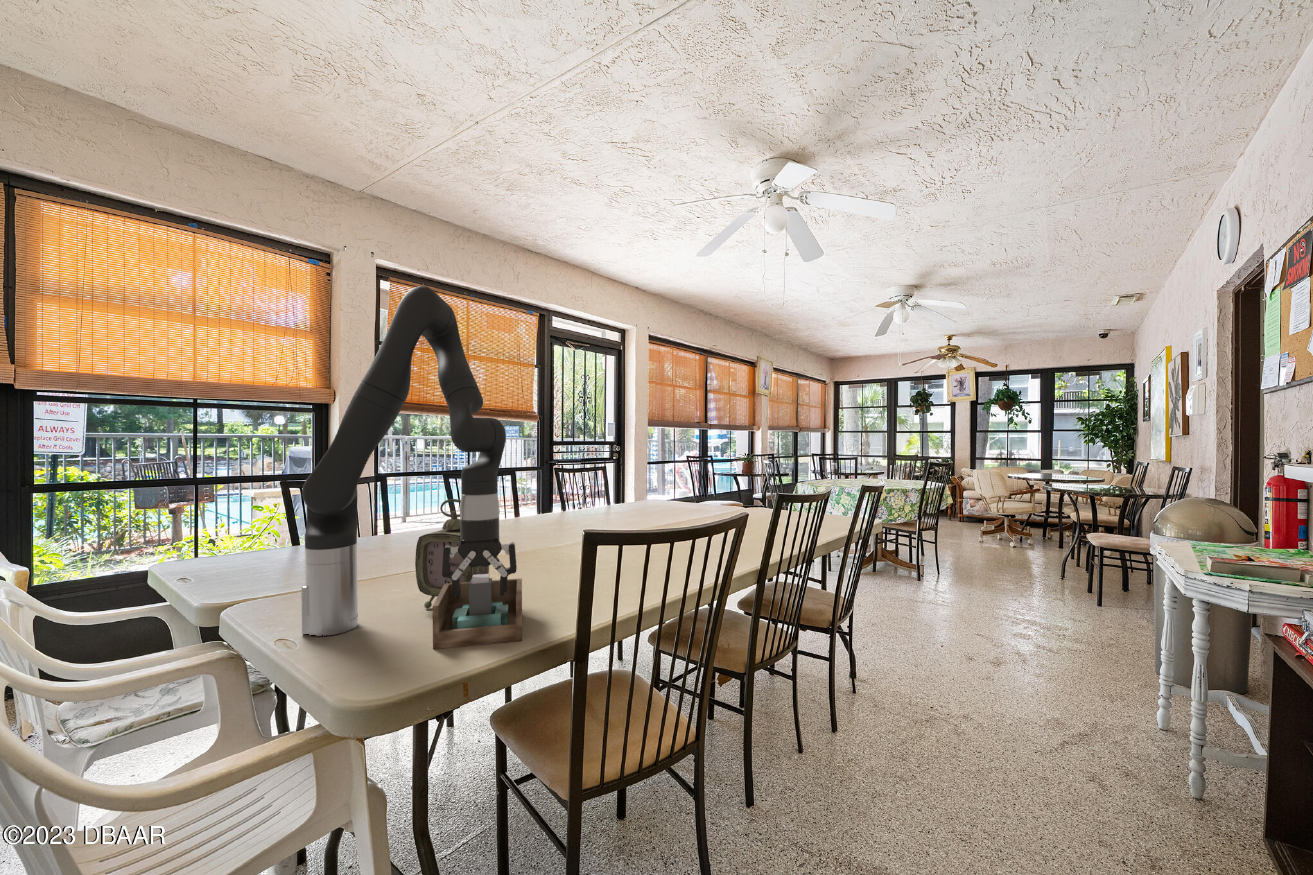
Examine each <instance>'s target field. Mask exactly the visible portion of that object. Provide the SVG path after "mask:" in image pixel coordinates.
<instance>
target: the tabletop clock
mask: <svg viewBox="0 0 1313 875" xmlns="http://www.w3.org/2000/svg"><path fill="white" fill-rule="evenodd" d="M448 503H459V504H460V503H461V499H457V498H449V499H446V500H444V501H443V502H442V503H440V504H441V505H440V506H439V509H440V512H441V513H442V515H443V516H445V517H448V519H447V520H445V522H444V523H443V524H442V529H440V530H437V531H434V532H433V531H432V532H429V533H426V534H423V535H421V536H419V537H418V539H417V543H416V547H415V561H414V562H415V563H414V566H415V567H414V568H415V576H416V577H415V578H416V584H417V587H418V589H419V592H420V593H421V594H424V595H427V596H430V598H429V600H427V601H425V603H424V608H425V609H430V608H431V607H433V604H432V602H433V600H434V599H435V597H436V598H437V597H438V595H439V593H440V591H441V590H442V588H443V586H444V584H447V583H452V580H451V579H450V578H447V577H446V578H445V577H443V576H442V566H443V550H444V548H445V547H446V546H447V545H450V546H451V547H459V545H460V513H459V514H458V513H457V511H455V510H453V511H451V513H448V512H445V511H444V510H443V508H444V506H445V504H448ZM449 518H450V519H449ZM463 560H464V559H463V558H462V557H461V556H460V555H459V553H458V552H456V553H455V555H454V557H452V558H451V565H450V570H452V571H455V570H456V569H457V568H458V567H459V565H460V564H461V562H462V561H463ZM478 574H489V575H490V565H489V566H488V567H483V566H478V567H471V566H469V565H468V566H467V567H466V568H465V570H464V571H463V572H462V573H461V575H460V576H459V578H460V583H461V582H470V580H471V579H472V577H473V575H478Z"/></svg>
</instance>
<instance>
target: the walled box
mask: <svg viewBox="0 0 1313 875" xmlns="http://www.w3.org/2000/svg"><path fill="white" fill-rule="evenodd" d="M507 580H508V588H507V592H504V595H502V596H500V579H492V609H493V614H487V615H475V616H469V583H470V582H461V583H460V590H461V595H460V598H457V599H456V596H453V594H452V583H447V584H444V586H443V588H442V590H441V591H440V593H439V595H438V597H436V599H435V601H434V603H433V604H432V649H433V650H439V649H448V648H449V649H450V648H459V647H468V646H469V647H471V646H472V647H473V646H479V645H480V646H481V644H483V645H491V644H501V643H504V644H505V643H512V642H521V641H522V642H523V578H522V577H521V578H510V579H509V578H507Z"/></svg>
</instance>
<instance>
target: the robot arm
mask: <svg viewBox="0 0 1313 875" xmlns="http://www.w3.org/2000/svg"><path fill="white" fill-rule="evenodd" d="M459 330H460V329H459V327H458V321H457V318H456V315H455V311H454V310H453V308H452V307H451V306H450V305H449V304H448V302H446V301H445V299H443V298H442V297H441V296H440V295H439V294H438V293H437V292H435V290H433V289H432V288H430V287H428V286H426V285H417V286H415V287H413V288H411V289H409V290H408V291H407V292H406V293H405V294H404V296H403V297H402V298H401V300H400V301H399V303H398V305H397V307H396V310H395V312H394V315H393V317H392V320H391V322H390V325H389V326H388V329H387V332H386V333H385V336H384V338H383V340H382V342H381V344H380V346H379V349H378V351H377V352H376V355H375V357H374V358H373V360H372V362H371V364H370V366H369V368H368V370H367V371H366V373H365V374H364V376H363V378H362V379H361V381H360V382H359V385H358V386H357V388H356V390H355V392H354V394H353V396H352V397H351V400H350V402H349V404H348V406H347V408H346V410H345V412H344V415H343V417H342V419H341V421H340V424H339V426H338V428H337V432H336V434H335V437H334V439H333V441H332V443H331V444H330V445H329V448H328V449H327V451H326V452H325V453H324V455H323V456H322V458H321V459H320V461H319V462H318V463H317V465H316V466H315V468H314V469H313V470H312V472H311V473H310V474H309V475H308V477H307V478H306V480H305V481H304V483H303V486H302V491H301V495H302V500H303V502H304V503H305V506H306V524H305V525H306V526H305V533H304V562H305V563H304V569H305V570H304V574H305V577H304V579H305V580H304V583H305V584H304V585H303V586H302V587H301V589H300V591H301V592H300V594H301V595H300V596H301V635H302V634H309V635H308V636H311V635H316V636H315V637H325V636H326V635H327V636H333V635H334V636H335V635H339V634H343V633H346V632H349V631H351V630H353V629H355V628H357V626H358V625H359V624H358V622H359V618H358V617H359V613H358V612H359V611H358V541H357V540H358V538H357V537H358V485H359V484H358V483H359V481H360V480H361V477H362V474H363V472H364V469H365V467H366V465H367V463H368V460H369V459H370V457H371V455H372V454H373V452H374V451H375V449H376V448H377V446H379V444H380V443H381V441H382V440H383V439H384V437H385V436H386V435H387V433H388V432H389V430H390V429H391V427H392V426H393V424H394V423H395V421H396V419H397V417H398V416H399V414H400V412H401V410H402V408H403V406H404V405H405V402H406V401H407V398H408V396H409V392H410V388H411V378H412V373H411V372H412V359H413V355H414V352H415V348H416V347H417V343H418V342H419V340H420V338H421V336H422V337H423V338H425V340H426V341H427V342H428V344H429V346H430V347H431V349H432V351H433V352H434V354H435V357H436V359H437V377H438V378H437V379H438V380H437V381H438V383H439V386H440V389H441V392H442V394H443V397H444V400H445V402H446V404H447V407H448V412H449V413H448V416H449V424H450V426H449V427H450V428H449V429H450V438H451V440H452V443H453V445H454V446H455V447H456V449H458V450H459V451H460V452H462V453H479V455H478V457H477V460H476V461H475V462H473V463H470V464H467V465H465V466H464V467H463V468H462V469H461V474H460V475H461V476H460V478H461V479H460V480H461V482H460V483H461V484H460V490H461V496H460V497H461V498H460V500H461V503H459V505H460V506H459V514H460V517H459V519H460V545H459V547H451V546H450V545H447V546H446V547H445V548H444V550H443V566H442V576H443V577H445V578H446V577H447V578H450V579H451V580H452V594H453V596H456V599H457V598H460V595H461V590H460V578H459V576H460V575H461V573H462V572H463V571H464V570H465V568H466V567H467V566H468V565H469V566H471V567H478V566H483V567H488V566H489V567H490V566H492V567H493V568H494V569H495V570H496V571H497V572H498V573H499V575H500V578H499V580H500V596H502V595H504V592H507V588H508V580H507V579H508V577H509V575H513V574H516V572H517V569H518V567H517V555H516V553H517V552H516V544H515V542H514V541H511V542H509V543H504V544H502V543H501V541H500V501H499V494H498V492H499V491H498V490H499V489H498V488H499V487H498V486H499V485H498V484H499V482H498V481H499V479H498V478H499V477H498V475H499V474H498V472H499V468H500V466H501V461H502V458H503V454H504V450H505V446H506V441H507V440H506V439H507V434H506V429H505V426H504V424H503V423H502V422H501V420H499V419H497V418H495V417H477V416H475V417H474V416H473V415H474V414H477V413H478V412H479V411H480V410H481V409H482V408H483V406H484V398H483V396H482V395H483V394H482V393H481V390H480V388H479V386H478V383H477V382H476V379H475V377H474V374H473V372H472V370H471V367H470V365H469V363H468V359H467V358H466V354H465V351H464V348H463V344H462V340H461V336H460V332H459ZM501 551H504V553H505V555H508V556H509V558H508V559H509V566H508V567H506V566H505V565H504V564H503V563H502V561H501V559H500V558H499V557H498V556H499V554H500V553H501ZM456 552H458V553H459V555H460V556H461V557H462V558H463V559H464V560H463V561H462V562H461V564H460V565H459V567H458V568H457V569H456V570H455V571H452V570H450V565H451V558H452V557H454V555H455V553H456ZM322 635H323V636H322Z"/></svg>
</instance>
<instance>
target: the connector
mask: <svg viewBox="0 0 1313 875" xmlns="http://www.w3.org/2000/svg"><path fill="white" fill-rule="evenodd" d="M492 580H493V577H490V573H489V574H478V575H473V577H472V579H471V580H470V583H469V616H475V615H487V614H493V609H492Z"/></svg>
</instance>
